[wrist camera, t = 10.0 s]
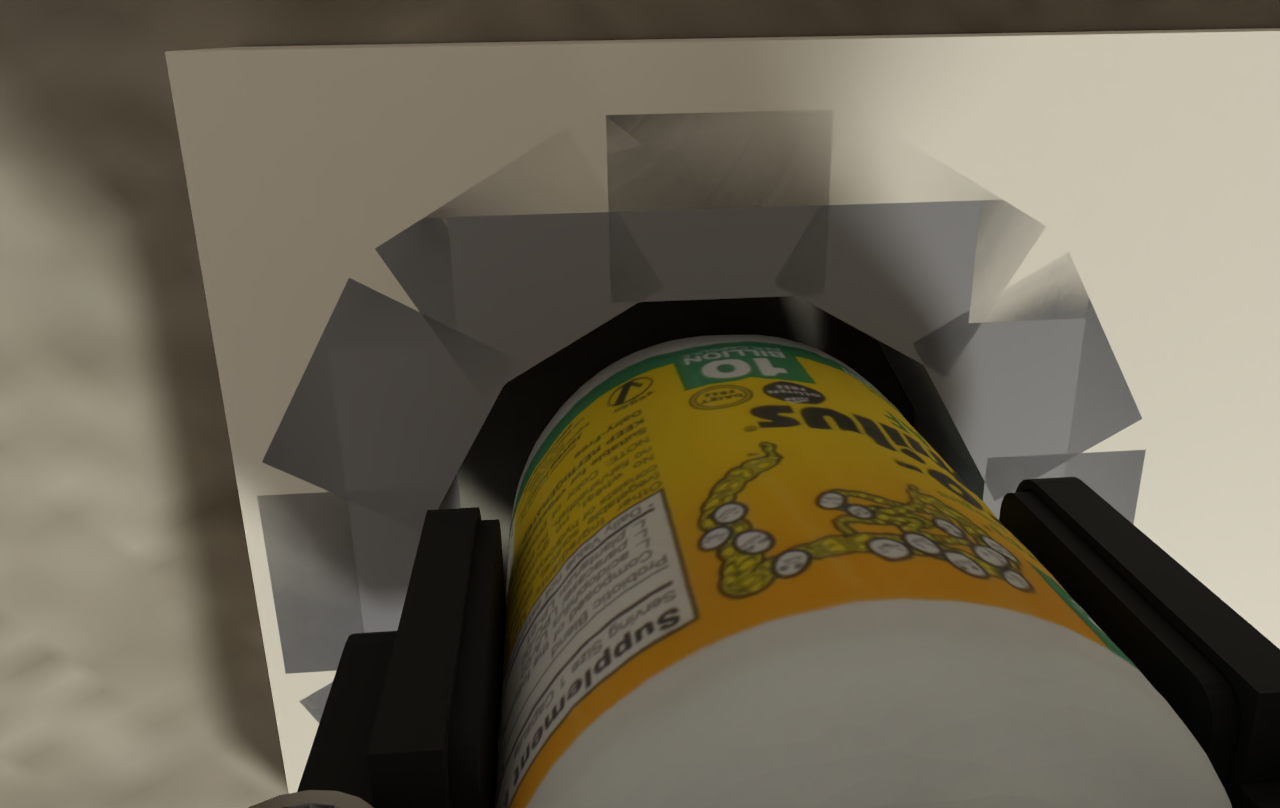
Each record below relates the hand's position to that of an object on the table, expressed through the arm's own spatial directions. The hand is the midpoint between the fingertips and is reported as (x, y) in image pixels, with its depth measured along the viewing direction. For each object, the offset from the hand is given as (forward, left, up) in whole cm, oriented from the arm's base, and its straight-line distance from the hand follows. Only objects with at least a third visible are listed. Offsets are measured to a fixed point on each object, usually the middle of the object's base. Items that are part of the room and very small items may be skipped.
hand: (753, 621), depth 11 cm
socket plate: (-4, 0, -4) cm, 6 cm away
